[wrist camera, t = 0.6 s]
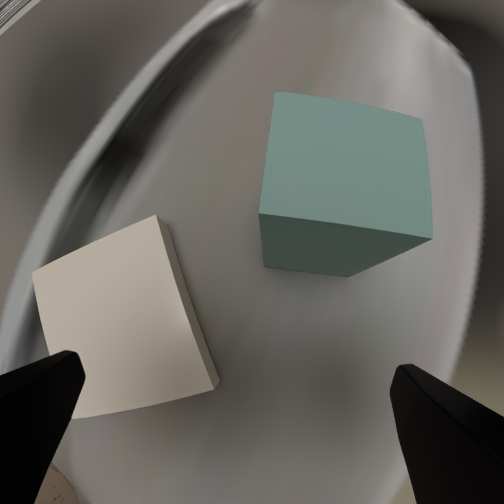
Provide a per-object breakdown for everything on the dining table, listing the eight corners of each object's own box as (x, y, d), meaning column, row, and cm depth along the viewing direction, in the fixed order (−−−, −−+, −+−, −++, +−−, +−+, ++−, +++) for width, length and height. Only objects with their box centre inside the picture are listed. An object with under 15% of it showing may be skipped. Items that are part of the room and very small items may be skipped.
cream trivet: (220, 380, 20) (214, 389, 17) (88, 411, 20) (72, 419, 17) (167, 224, 22) (155, 214, 20) (49, 276, 22) (31, 272, 19)
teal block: (347, 277, 21) (432, 238, 9) (264, 266, 21) (258, 213, 9) (352, 210, 22) (422, 119, 10) (272, 199, 22) (275, 91, 10)
